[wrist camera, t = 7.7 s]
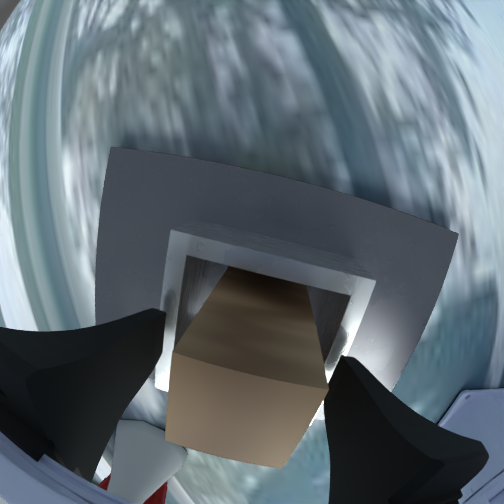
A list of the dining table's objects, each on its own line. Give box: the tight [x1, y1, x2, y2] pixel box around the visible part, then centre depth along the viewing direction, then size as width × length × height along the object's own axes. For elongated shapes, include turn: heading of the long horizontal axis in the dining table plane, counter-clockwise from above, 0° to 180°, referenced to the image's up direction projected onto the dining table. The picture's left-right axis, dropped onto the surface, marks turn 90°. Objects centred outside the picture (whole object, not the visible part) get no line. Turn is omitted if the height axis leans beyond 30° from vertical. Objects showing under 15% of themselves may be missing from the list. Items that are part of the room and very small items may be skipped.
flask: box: [107, 420, 188, 504], centre depth 15 cm, size 7×7×10 cm
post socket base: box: [95, 147, 459, 425], centre depth 13 cm, size 20×14×4 cm
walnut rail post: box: [165, 266, 329, 468], centre depth 11 cm, size 4×4×8 cm
